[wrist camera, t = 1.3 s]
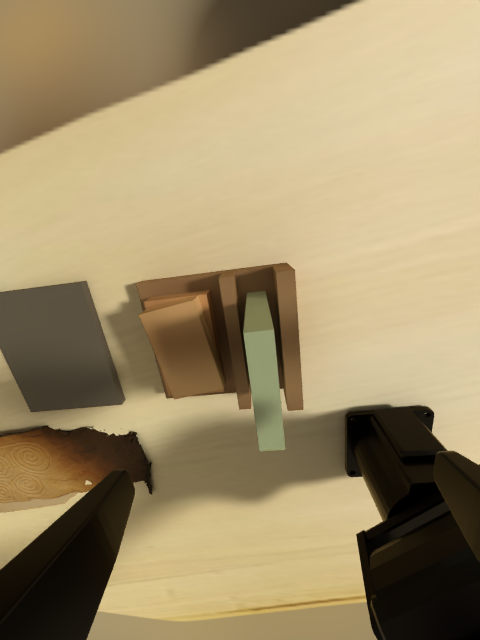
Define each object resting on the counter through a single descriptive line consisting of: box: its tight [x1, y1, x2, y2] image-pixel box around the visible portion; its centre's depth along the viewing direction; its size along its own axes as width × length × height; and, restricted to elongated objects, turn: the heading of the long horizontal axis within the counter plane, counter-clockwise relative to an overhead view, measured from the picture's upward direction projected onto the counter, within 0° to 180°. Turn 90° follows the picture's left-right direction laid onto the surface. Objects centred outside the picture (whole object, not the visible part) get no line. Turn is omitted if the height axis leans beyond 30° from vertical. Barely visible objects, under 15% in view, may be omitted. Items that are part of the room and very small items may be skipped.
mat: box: [0, 281, 125, 412], centre depth 19 cm, size 10×8×1 cm
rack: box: [136, 263, 303, 411], centre depth 17 cm, size 9×10×4 cm
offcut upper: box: [139, 295, 226, 399], centre depth 16 cm, size 6×3×1 cm, turn 16°
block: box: [243, 291, 285, 451], centre depth 14 cm, size 6×1×7 cm, turn 7°
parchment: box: [0, 426, 152, 513], centre depth 24 cm, size 25×10×1 cm, turn 103°
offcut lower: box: [144, 290, 226, 396], centre depth 17 cm, size 7×4×1 cm, turn 7°
